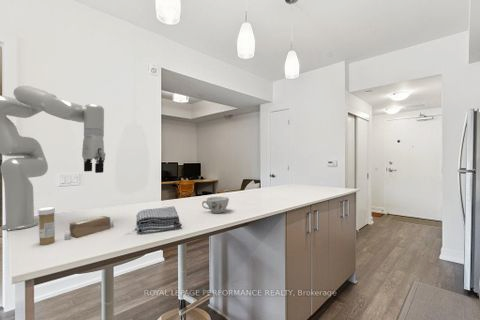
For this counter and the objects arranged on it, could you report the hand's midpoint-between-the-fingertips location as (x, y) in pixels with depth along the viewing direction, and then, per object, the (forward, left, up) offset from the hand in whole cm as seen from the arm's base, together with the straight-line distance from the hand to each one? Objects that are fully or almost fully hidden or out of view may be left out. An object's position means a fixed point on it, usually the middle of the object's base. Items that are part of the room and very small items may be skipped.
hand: (93, 171), depth 105 cm
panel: (+5, -6, -25) cm, 26 cm away
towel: (+24, +15, -26) cm, 38 cm away
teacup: (+30, +49, -25) cm, 63 cm away
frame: (+8, -6, -24) cm, 26 cm away
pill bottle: (+6, -20, -25) cm, 33 cm away
